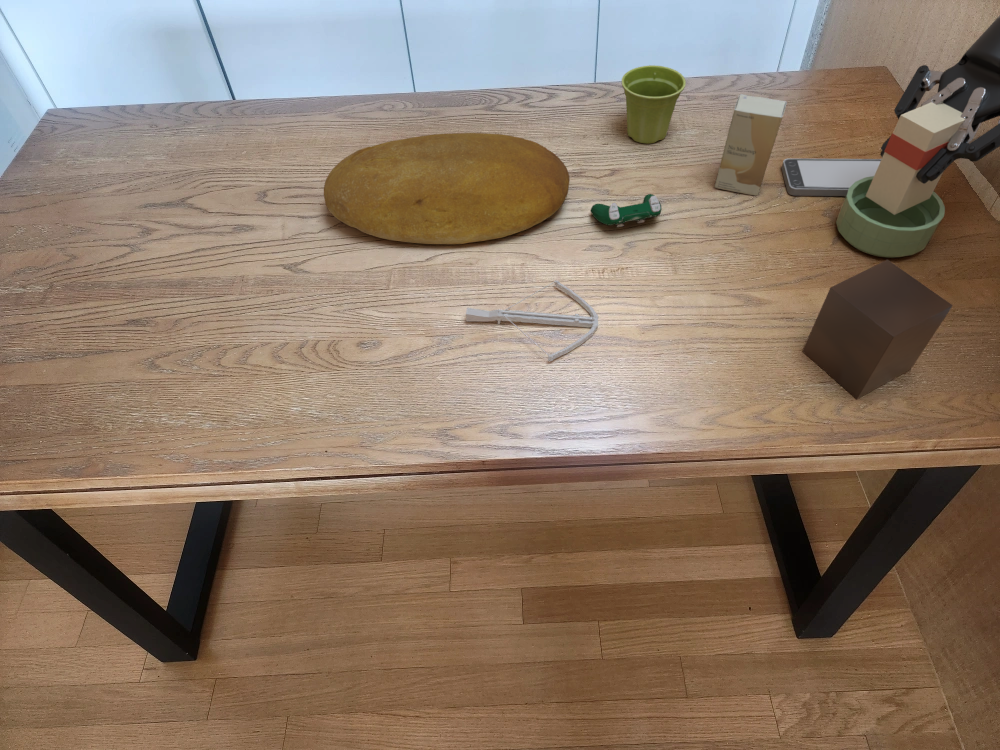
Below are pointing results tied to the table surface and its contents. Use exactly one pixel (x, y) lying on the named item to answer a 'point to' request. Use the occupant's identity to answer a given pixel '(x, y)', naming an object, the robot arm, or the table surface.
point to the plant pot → (651, 101)
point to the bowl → (887, 223)
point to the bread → (447, 188)
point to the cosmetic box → (749, 143)
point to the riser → (874, 327)
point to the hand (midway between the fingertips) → (902, 168)
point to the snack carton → (912, 156)
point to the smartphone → (825, 175)
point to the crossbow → (543, 319)
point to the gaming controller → (627, 211)
